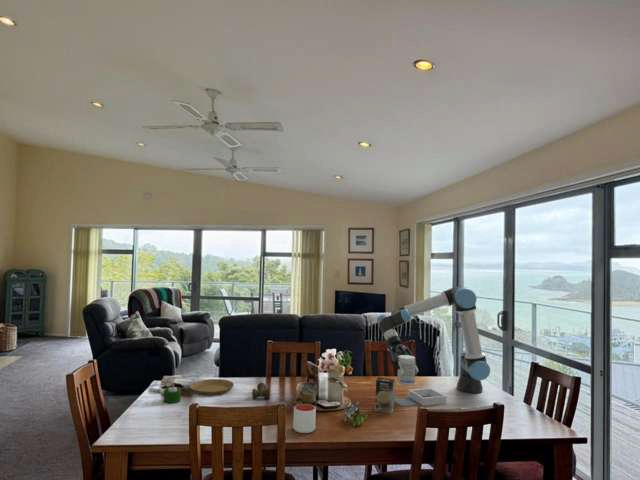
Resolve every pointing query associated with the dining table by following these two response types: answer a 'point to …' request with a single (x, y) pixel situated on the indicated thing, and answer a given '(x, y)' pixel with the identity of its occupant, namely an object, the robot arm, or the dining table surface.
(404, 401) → the slate mat
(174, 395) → the candle
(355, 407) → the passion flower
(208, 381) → the plant saucer
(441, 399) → the open box
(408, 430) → the dining table surface
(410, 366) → the supplement tub
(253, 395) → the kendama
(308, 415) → the cup
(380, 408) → the coffee box
